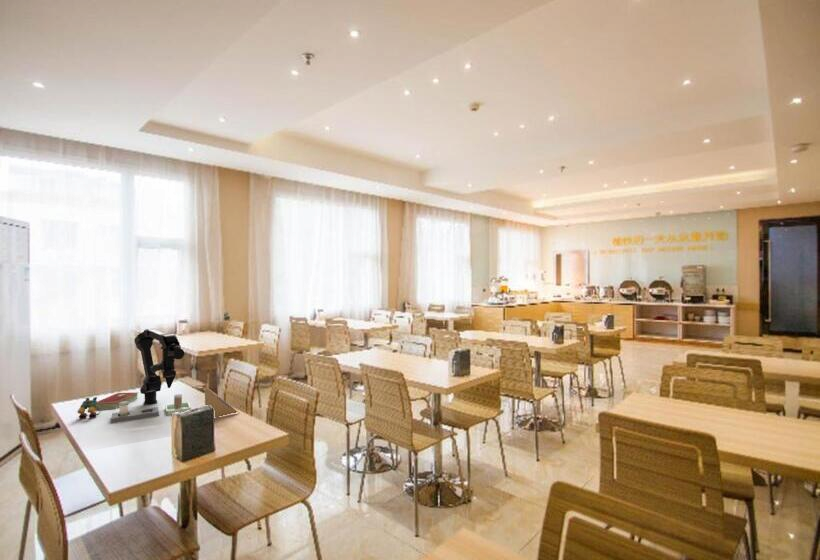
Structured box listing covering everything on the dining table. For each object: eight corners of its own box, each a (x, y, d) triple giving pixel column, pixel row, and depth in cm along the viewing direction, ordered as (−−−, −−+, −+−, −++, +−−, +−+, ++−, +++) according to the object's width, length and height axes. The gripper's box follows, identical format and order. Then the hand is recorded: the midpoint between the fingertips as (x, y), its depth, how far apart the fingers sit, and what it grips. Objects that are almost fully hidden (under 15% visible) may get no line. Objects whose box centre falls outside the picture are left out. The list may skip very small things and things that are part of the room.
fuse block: (112, 418, 214) (112, 413, 214) (158, 411, 225) (158, 406, 225) (111, 423, 206) (111, 418, 206) (158, 416, 217) (158, 411, 217)
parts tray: (165, 409, 228) (165, 405, 228) (188, 406, 234) (188, 402, 234) (166, 416, 218) (166, 411, 218) (191, 412, 224) (191, 407, 224)
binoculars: (78, 423, 213) (73, 409, 208) (84, 408, 220) (79, 395, 215) (99, 421, 216) (95, 408, 211) (105, 407, 223) (101, 394, 218)
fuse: (119, 417, 213) (119, 401, 213) (128, 416, 215) (128, 400, 215) (119, 419, 210) (119, 403, 210) (128, 418, 212) (128, 402, 212)
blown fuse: (173, 409, 226) (173, 394, 226) (181, 408, 228) (181, 393, 228) (174, 411, 223) (174, 396, 223) (182, 410, 225) (182, 395, 225)
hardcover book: (92, 410, 228) (92, 402, 228) (117, 399, 249) (117, 392, 249) (115, 410, 229) (115, 402, 229) (138, 399, 250) (138, 391, 250)
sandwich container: (240, 413, 222) (240, 385, 222) (209, 420, 212) (209, 390, 212) (235, 410, 229) (235, 382, 229) (204, 416, 219) (204, 387, 219)
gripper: (150, 356, 235) (150, 384, 235) (151, 361, 219) (151, 392, 219) (173, 354, 241) (173, 381, 241) (176, 359, 225) (176, 389, 225)
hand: (168, 386), depth 231 cm, fingers open, 9 cm apart
